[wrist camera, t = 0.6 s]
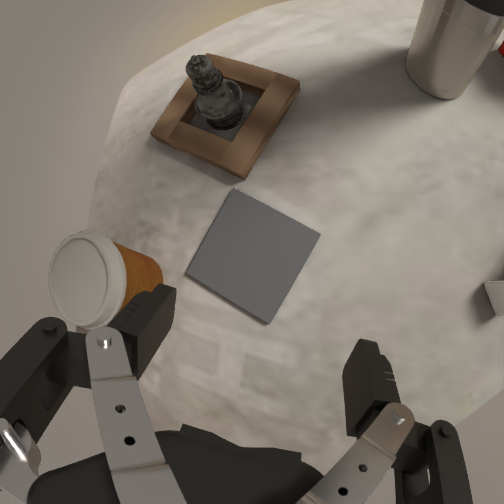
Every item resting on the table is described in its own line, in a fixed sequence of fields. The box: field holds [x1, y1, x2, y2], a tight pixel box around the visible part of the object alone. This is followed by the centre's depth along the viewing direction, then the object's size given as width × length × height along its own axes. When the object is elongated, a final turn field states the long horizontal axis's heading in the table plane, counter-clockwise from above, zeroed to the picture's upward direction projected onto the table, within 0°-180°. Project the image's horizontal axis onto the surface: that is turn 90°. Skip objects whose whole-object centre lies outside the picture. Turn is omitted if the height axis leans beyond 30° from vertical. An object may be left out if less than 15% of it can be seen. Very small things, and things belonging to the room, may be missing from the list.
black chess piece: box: [186, 55, 246, 130], centre depth 31 cm, size 6×6×12 cm
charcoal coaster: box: [186, 188, 321, 324], centre depth 34 cm, size 11×11×1 cm
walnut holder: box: [150, 53, 300, 180], centre depth 36 cm, size 14×14×2 cm
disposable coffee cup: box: [49, 230, 163, 330], centre depth 31 cm, size 10×10×12 cm
